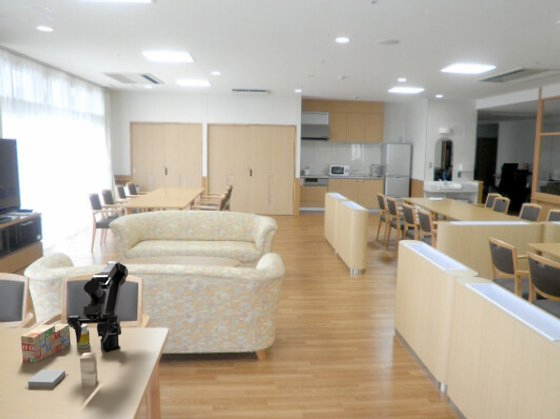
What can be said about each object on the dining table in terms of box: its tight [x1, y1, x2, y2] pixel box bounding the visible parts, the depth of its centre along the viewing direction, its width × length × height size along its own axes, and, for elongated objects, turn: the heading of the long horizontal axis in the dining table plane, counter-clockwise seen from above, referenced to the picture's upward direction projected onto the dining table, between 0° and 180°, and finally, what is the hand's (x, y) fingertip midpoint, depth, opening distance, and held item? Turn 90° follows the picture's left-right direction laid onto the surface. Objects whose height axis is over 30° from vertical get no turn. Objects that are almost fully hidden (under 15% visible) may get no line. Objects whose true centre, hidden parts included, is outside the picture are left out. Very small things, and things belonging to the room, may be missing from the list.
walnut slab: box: [24, 373, 70, 390], centre depth 175 cm, size 11×11×2 cm
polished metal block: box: [79, 351, 98, 388], centre depth 173 cm, size 4×4×12 cm
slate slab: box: [27, 369, 66, 387], centre depth 175 cm, size 9×9×2 cm
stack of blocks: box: [20, 322, 71, 363], centre depth 200 cm, size 21×6×12 cm, turn 167°
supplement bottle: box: [75, 324, 91, 349], centre depth 207 cm, size 5×5×10 cm
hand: (90, 342), depth 179 cm, fingers open, 9 cm apart
